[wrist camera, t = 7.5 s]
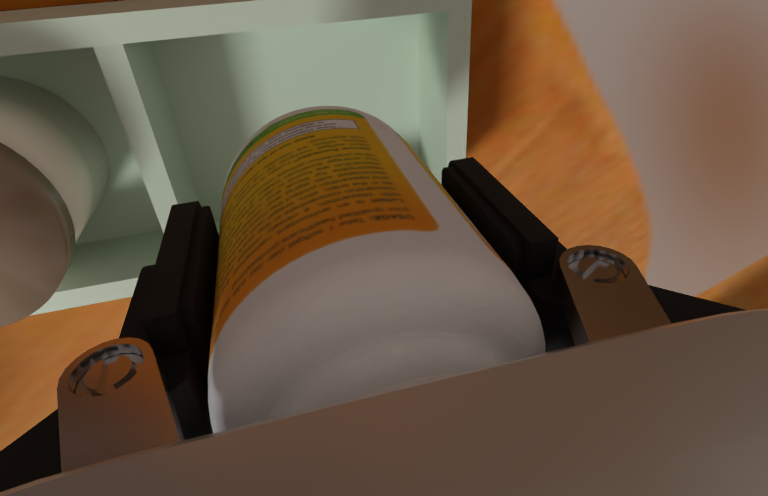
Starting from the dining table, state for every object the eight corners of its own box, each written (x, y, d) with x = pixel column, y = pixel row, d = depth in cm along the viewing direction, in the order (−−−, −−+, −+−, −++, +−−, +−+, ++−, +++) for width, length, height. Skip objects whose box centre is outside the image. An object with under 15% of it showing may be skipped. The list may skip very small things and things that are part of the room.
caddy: (428, -26, 19) (472, -20, 15) (429, 191, 24) (462, 235, 20) (-242, 32, 15) (-402, 60, 11) (-64, 273, 20) (-134, 345, 17)
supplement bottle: (191, 243, 13) (105, 739, 5) (274, 59, 11) (359, 381, 3) (361, 297, 15) (487, 684, 7) (453, 156, 13) (764, 472, 5)
